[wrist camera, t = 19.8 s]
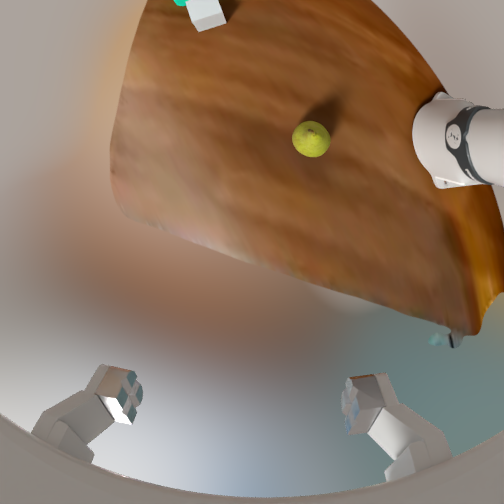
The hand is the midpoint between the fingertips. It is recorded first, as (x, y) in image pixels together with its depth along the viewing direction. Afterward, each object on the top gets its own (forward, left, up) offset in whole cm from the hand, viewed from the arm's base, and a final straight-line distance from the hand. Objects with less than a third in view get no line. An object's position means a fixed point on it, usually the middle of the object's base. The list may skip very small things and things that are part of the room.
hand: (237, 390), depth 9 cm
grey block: (+8, -33, -39) cm, 52 cm away
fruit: (-8, -9, -39) cm, 41 cm away
